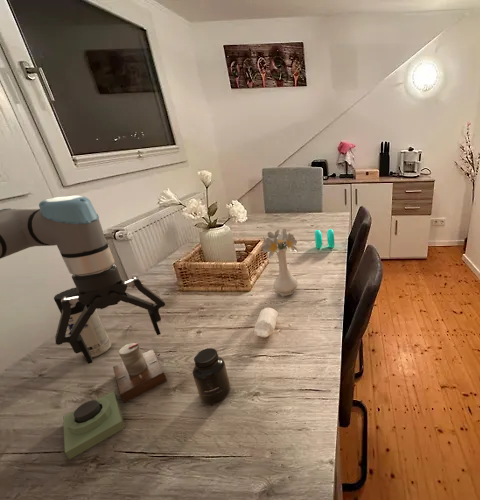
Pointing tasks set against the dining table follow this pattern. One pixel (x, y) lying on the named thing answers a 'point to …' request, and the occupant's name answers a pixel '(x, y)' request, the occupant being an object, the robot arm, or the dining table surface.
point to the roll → (266, 322)
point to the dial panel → (139, 378)
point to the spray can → (87, 325)
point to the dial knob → (133, 358)
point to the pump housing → (92, 426)
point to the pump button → (87, 411)
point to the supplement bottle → (210, 376)
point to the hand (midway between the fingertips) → (126, 345)
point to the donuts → (329, 238)
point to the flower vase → (281, 260)
